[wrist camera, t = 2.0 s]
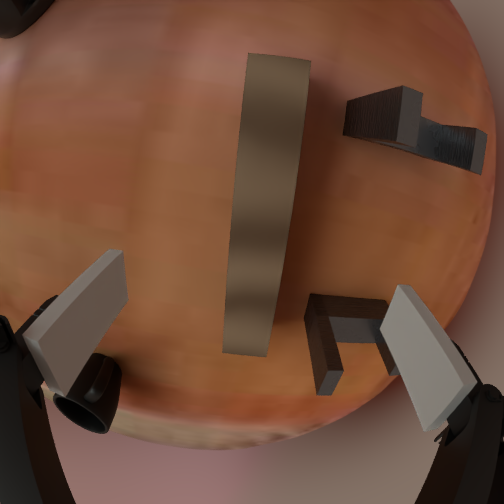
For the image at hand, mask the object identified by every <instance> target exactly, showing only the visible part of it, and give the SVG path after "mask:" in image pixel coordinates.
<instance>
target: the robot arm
mask: <svg viewBox="0 0 504 504" xmlns="http://www.w3.org/2000/svg"><path fill="white" fill-rule="evenodd" d="M53 1H54V0H0V38H11V37H14V36H16V35H18V34H19V33H21V32H22V31H24V30H25V29H26V28H28V27H29V26H30V25H31V24H32V23H33V22H35V21H36V20H37V19H38V18H39V17H40V16H41V15H42V14H43V12H44V11H45V10H46V9H47V8H48V7H49V6H50V5H51V3H52V2H53ZM127 301H128V293H127V285H126V276H125V267H124V256H123V251H121V250H114V249H109V250H108V251H106V252H105V253H104V254H103V255H102V256H101V257H100V258H99V259H97V260H96V261H95V262H94V263H93V264H92V265H91V266H90V267H89V268H88V269H86V270H85V271H84V272H83V273H82V274H81V275H80V276H79V277H78V278H77V279H76V280H75V281H74V282H73V283H72V284H71V285H70V286H68V287H67V288H66V289H65V290H64V291H63V292H62V293H61V294H60V295H59V296H58V295H55V296H54V297H52V298H50V299H48V300H46V301H45V302H44V303H43V304H42V305H41V306H40V307H39V309H37V310H36V311H35V312H34V314H33V315H32V316H31V317H30V318H29V319H28V320H27V321H26V322H25V323H24V324H23V325H22V326H21V327H20V328H19V329H18V330H17V332H16V333H15V334H14V333H13V330H12V328H11V326H10V323H9V321H8V319H7V318H6V317H5V316H2V315H0V503H1V504H76V503H75V501H74V498H73V496H72V493H71V491H70V488H69V486H68V483H67V481H66V478H65V475H64V472H63V469H62V466H61V463H60V460H59V457H58V454H57V451H56V447H55V443H54V440H53V436H52V432H51V428H50V424H49V419H48V415H47V410H46V405H45V400H44V394H43V390H42V388H41V384H42V383H43V381H45V382H46V384H47V386H48V388H49V389H50V391H53V392H55V393H57V394H59V395H61V396H64V397H66V395H67V393H68V392H69V390H70V388H71V387H72V385H73V383H74V382H75V380H76V378H77V377H78V375H79V373H80V372H81V370H82V369H83V367H84V365H85V364H86V362H87V361H88V359H89V357H90V356H91V354H92V353H93V351H94V350H95V348H96V347H97V345H98V344H99V342H100V341H101V339H102V338H103V336H104V335H105V333H106V332H107V330H108V329H109V327H110V326H111V324H112V323H113V321H114V320H115V318H116V317H117V315H118V314H119V313H120V311H121V310H122V308H123V307H124V305H125V304H126V303H127ZM380 331H381V333H382V335H383V337H384V339H385V341H386V343H387V345H388V347H389V350H390V352H391V354H392V356H393V358H394V360H395V363H396V365H397V367H398V369H399V372H400V374H401V376H402V378H403V381H404V383H405V386H406V388H407V390H408V393H409V395H410V398H411V400H412V402H413V405H414V407H415V410H416V413H417V415H418V417H419V420H420V423H421V426H422V428H423V431H424V432H425V431H429V430H433V429H437V428H439V427H440V426H441V425H442V423H443V422H444V421H445V420H446V419H447V421H448V423H449V425H448V426H447V427H446V428H445V429H444V430H443V431H442V432H441V433H440V434H439V435H438V436H437V437H436V438H435V440H434V442H436V441H437V440H438V439H440V438H441V437H442V439H441V441H440V442H439V444H440V445H439V448H438V451H437V453H436V456H435V459H434V461H433V464H432V466H431V469H430V471H429V474H428V476H427V478H426V480H425V483H424V485H423V487H422V489H421V492H420V493H419V496H418V498H417V500H416V502H415V504H504V441H503V437H504V396H502V394H501V392H500V391H499V390H498V389H497V388H496V387H495V386H493V385H490V384H484V385H483V383H482V382H481V380H480V378H479V377H478V375H477V373H476V372H475V370H474V369H473V367H472V366H471V364H470V363H469V362H468V359H467V358H466V356H464V353H463V352H462V350H461V349H460V347H459V346H458V345H457V344H456V343H455V342H454V341H452V340H451V339H449V337H448V335H447V334H446V333H445V331H444V330H443V328H442V327H441V326H440V324H439V323H438V321H437V320H436V319H435V317H434V316H433V314H432V313H431V312H430V310H429V309H428V308H427V306H426V305H425V304H424V302H423V301H422V300H421V299H420V297H419V296H418V295H417V293H416V292H415V291H414V290H413V288H412V287H411V286H410V285H401V284H398V285H397V288H396V291H395V293H394V296H393V298H392V301H391V303H390V306H389V308H388V311H387V313H386V316H385V318H384V320H383V323H382V325H381V327H380Z"/></svg>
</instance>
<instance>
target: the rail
mask: <svg viewBox="0 0 504 504" xmlns="http://www.w3.org/2000/svg"><path fill="white" fill-rule="evenodd" d="M310 67H311V61H309V60H303V59H297V58H290V57H283V56H275V55H265V54H254V53H248V60H247V68H246V76H245V85H244V94H243V103H242V112H241V122H240V131H239V141H238V151H237V162H236V172H235V183H234V195H233V206H232V218H231V231H230V243H229V257H228V270H227V285H226V300H225V316H224V333H223V351H222V353H229V354H238V355H247V356H258V357H266V356H267V351H268V346H269V340H270V335H271V330H272V325H273V320H274V314H275V309H276V304H277V298H278V292H279V287H280V281H281V275H282V270H283V264H284V258H285V252H286V246H287V240H288V234H289V227H290V221H291V215H292V208H293V201H294V195H295V188H296V181H297V174H298V167H299V159H300V152H301V144H302V137H303V129H304V121H305V112H306V104H307V95H308V86H309V77H310Z"/></svg>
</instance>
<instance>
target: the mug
mask: <svg viewBox="0 0 504 504" xmlns="http://www.w3.org/2000/svg"><path fill="white" fill-rule="evenodd" d="M121 377H122V372H121V369H120V368H119V366H118V365H117V364H116V363H115V362H114V360H113V359H112V358H111V357H107V356H105V355H102V354H99V353H93V354H91V356H90V357H89V359H88V361H87V362H86V364H85V365H84V367H83V369H82V370H81V372H80V373H79V375H78V377H77V378H76V380H75V382H74V383H73V385H72V387H71V388H70V390H69V392H68V393H67V395H66V397H64V396H61V395H59V394H57V393H55V394H54V396H53V401H54V404H55V405H56V407H57V408H58V409H59V410H60V411H61V412H62V413H63V414H64V415H65V416H66V417H67V418H68V419H70V420H71V421H72V422H74V423H75V424H77V425H79V426H81V427H82V428H84V429H87V430H89V431H92V432H95V433H99V434H104V433H107V432H108V431H109V428H110V426H111V423H112V421H113V419H114V416H115V413H116V410H117V406H118V401H119V395H120V386H121Z"/></svg>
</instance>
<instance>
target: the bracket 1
mask: <svg viewBox="0 0 504 504" xmlns="http://www.w3.org/2000/svg"><path fill="white" fill-rule="evenodd" d="M388 308H389V306H388V304H387V302H386V301H385V300H377V299H364V298H351V297H340V296H329V295H318V294H310V297H309V301H308V304H307V308H306V312H305V315H304V322H305V327H306V333H307V339H308V345H309V350H310V356H311V362H312V369H313V375H314V381H315V388H316V394H317V395H332V393H333V391H334V389H335V387H336V385H337V384H338V382H339V380H340V378H341V376H342V374H343V372H344V369H343V366H342V362H341V358H340V355H339V351H338V347H337V344H336V342H346V343H376V345H377V347H378V349H379V352H380V354H381V357H382V359H383V361H384V364H385V366H386V369H387V371H388V374H389V376H391V375H400V372H399V369H398V367H397V365H396V363H395V360H394V358H393V356H392V354H391V352H390V350H389V347H388V345H387V343H386V341H385V339H384V337H383V335H382V333H381V331H380V327H381V325H382V323H383V320H384V318H385V316H386V313H387V311H388Z"/></svg>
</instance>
